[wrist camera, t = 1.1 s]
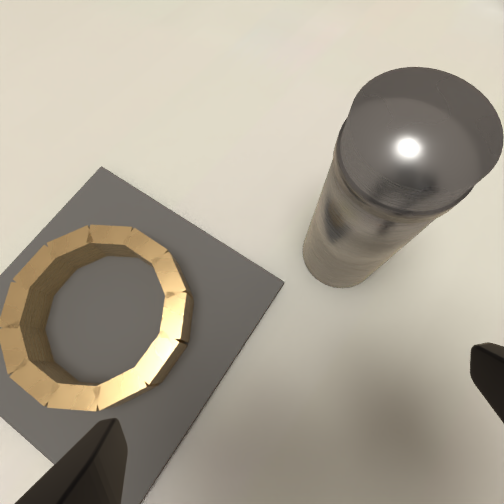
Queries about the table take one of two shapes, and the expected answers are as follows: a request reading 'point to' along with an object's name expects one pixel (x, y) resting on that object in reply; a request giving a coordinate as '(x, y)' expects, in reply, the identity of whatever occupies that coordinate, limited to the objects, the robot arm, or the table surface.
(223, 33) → the table surface
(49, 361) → the ring collar
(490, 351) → the robot arm
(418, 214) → the grey tall cylinder
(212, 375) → the mat
